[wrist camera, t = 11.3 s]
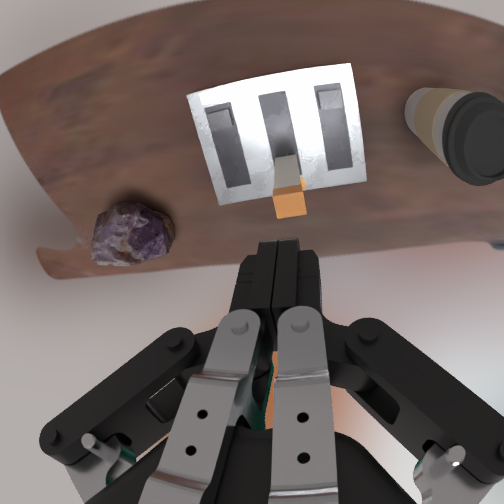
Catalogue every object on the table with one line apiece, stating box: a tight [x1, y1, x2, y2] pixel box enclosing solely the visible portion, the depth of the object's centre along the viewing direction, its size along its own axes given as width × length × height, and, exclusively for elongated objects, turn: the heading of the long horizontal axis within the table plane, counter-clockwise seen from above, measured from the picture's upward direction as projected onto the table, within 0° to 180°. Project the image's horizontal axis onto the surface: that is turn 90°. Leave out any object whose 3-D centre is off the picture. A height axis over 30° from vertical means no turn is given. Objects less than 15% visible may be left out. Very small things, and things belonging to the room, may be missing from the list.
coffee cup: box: [404, 87, 504, 186], centre depth 26 cm, size 9×9×15 cm
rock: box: [91, 201, 175, 266], centre depth 41 cm, size 12×9×10 cm
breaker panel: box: [187, 63, 367, 205], centre depth 35 cm, size 18×14×4 cm
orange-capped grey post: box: [272, 154, 307, 219], centre depth 31 cm, size 2×2×11 cm
